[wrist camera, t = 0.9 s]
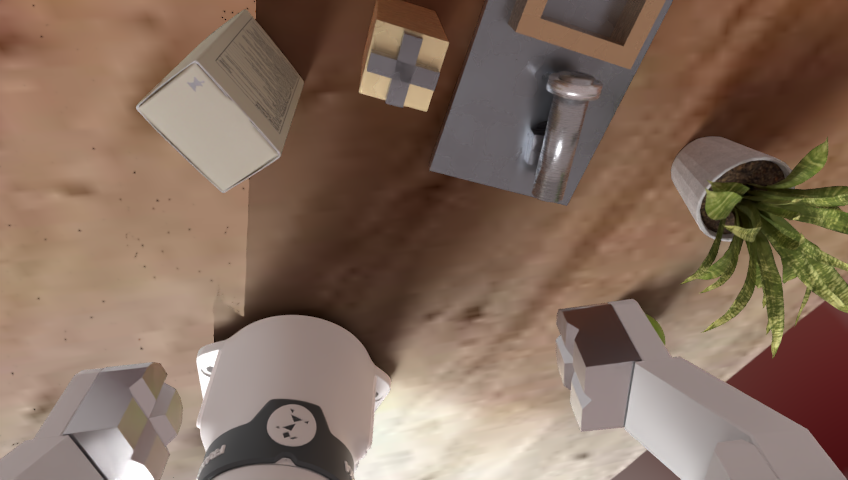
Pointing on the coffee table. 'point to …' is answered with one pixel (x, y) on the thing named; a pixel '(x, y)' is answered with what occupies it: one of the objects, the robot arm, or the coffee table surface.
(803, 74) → the coffee table surface
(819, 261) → the house plant
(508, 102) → the coupler station
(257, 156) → the skincare box
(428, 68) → the pale yellow block
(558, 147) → the shaft
